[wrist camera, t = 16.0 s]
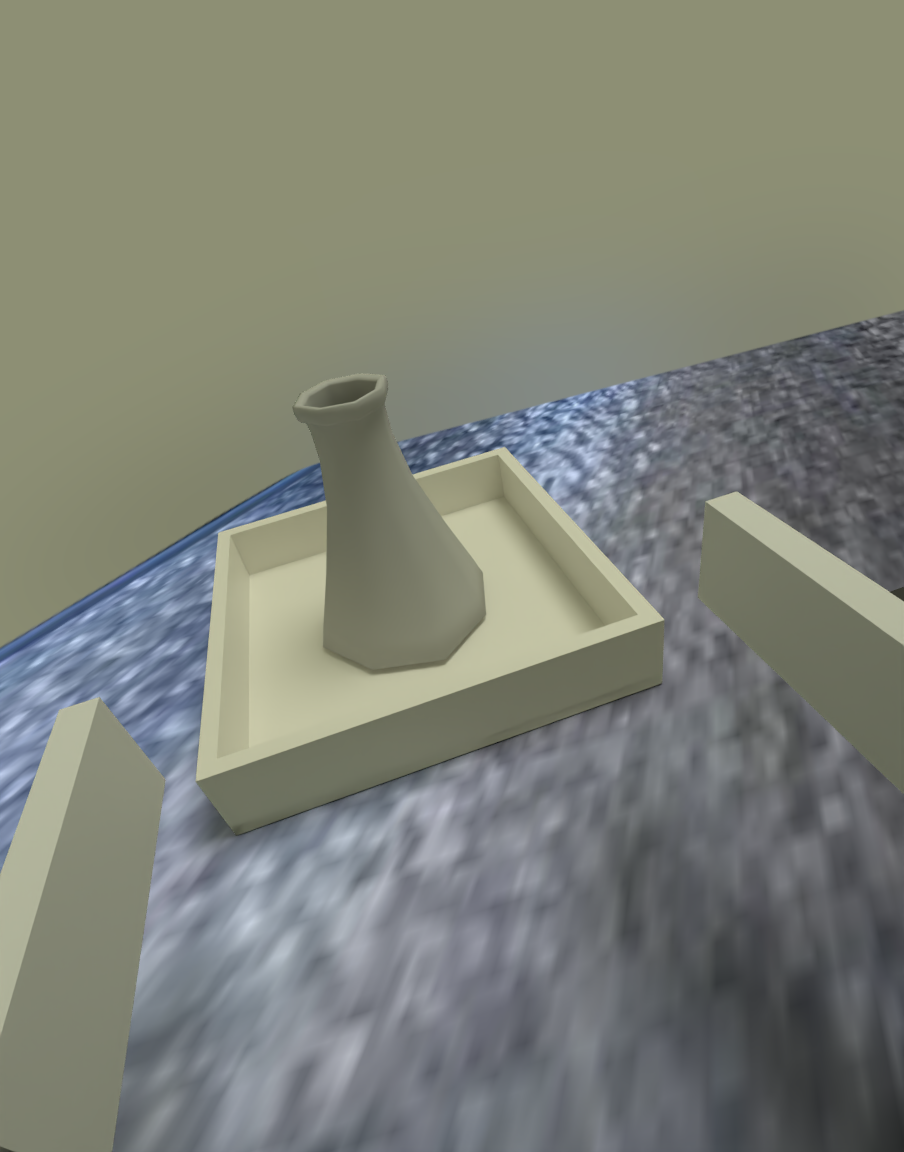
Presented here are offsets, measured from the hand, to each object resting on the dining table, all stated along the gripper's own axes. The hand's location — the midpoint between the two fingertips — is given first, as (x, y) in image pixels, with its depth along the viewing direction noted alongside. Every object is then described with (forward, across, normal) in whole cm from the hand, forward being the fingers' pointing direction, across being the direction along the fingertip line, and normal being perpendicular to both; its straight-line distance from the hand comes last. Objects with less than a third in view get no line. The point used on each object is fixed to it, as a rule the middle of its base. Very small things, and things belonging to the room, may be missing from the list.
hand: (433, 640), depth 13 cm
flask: (+11, 0, -8) cm, 13 cm away
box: (+11, 0, -8) cm, 13 cm away
